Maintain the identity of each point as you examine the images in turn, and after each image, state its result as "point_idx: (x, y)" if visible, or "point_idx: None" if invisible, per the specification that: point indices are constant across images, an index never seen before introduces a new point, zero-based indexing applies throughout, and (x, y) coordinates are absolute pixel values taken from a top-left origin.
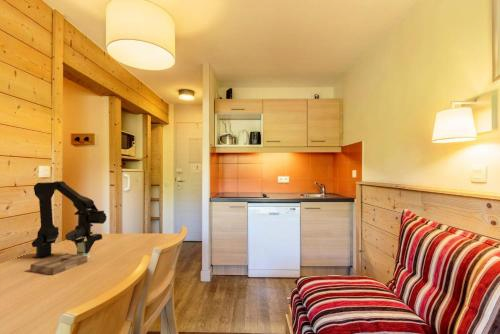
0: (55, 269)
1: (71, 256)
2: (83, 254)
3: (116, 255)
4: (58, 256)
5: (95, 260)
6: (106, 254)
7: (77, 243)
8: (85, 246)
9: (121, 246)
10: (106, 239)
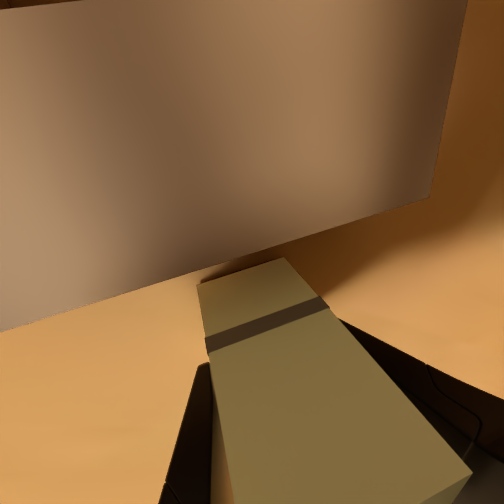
0: None
1: (189, 163)
2: (206, 333)
3: (57, 490)
4: (431, 6)
5: (32, 362)
6: (169, 439)
7: (457, 464)
8: (203, 501)
9: None
10: None
